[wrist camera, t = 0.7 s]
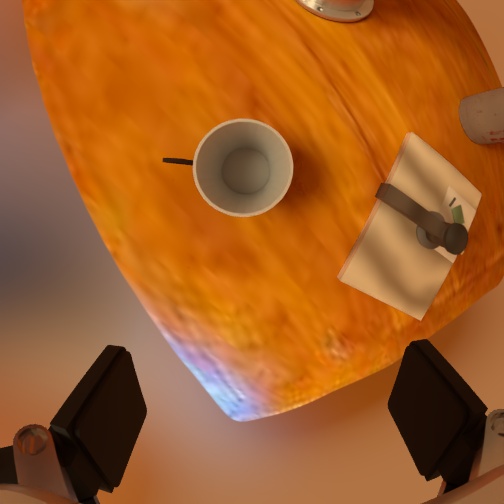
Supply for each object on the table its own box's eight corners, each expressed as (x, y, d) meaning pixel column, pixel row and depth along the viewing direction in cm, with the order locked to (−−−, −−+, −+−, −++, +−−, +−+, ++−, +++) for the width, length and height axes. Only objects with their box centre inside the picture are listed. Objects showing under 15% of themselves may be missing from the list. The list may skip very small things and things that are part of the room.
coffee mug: (295, 162, 33) (312, 154, 23) (255, 220, 35) (256, 235, 25) (215, 111, 31) (201, 85, 22) (176, 169, 33) (147, 165, 23)
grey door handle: (465, 240, 33) (488, 248, 27) (454, 262, 33) (477, 274, 28) (380, 175, 31) (402, 176, 25) (367, 203, 32) (387, 207, 26)
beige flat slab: (406, 133, 31) (414, 131, 29) (476, 193, 33) (484, 194, 31) (336, 276, 36) (341, 282, 34) (416, 316, 38) (422, 322, 36)
